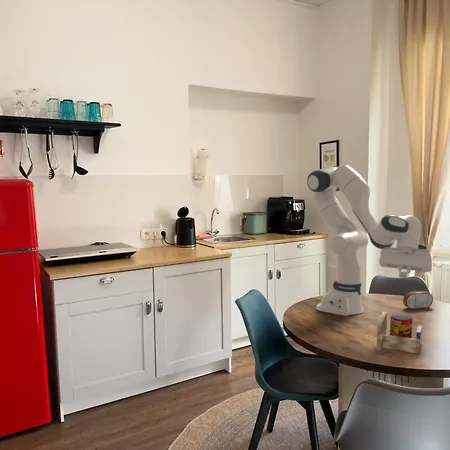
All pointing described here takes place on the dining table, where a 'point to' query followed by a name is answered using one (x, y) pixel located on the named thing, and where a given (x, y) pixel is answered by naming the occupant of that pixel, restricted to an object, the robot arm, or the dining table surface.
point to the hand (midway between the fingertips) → (402, 276)
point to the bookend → (419, 334)
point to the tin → (418, 299)
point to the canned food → (401, 325)
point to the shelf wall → (394, 338)
